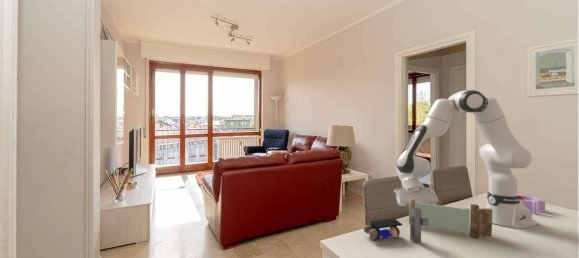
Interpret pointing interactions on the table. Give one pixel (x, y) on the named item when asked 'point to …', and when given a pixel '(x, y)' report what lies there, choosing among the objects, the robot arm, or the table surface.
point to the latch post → (416, 224)
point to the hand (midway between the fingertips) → (422, 213)
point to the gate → (443, 216)
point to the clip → (533, 204)
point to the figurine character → (385, 233)
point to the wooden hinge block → (480, 222)
